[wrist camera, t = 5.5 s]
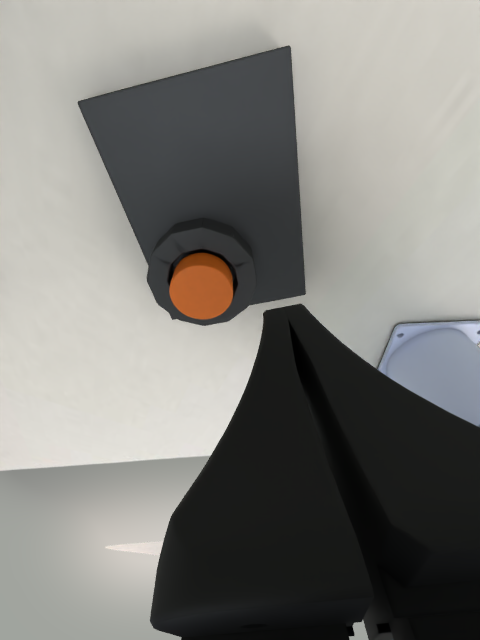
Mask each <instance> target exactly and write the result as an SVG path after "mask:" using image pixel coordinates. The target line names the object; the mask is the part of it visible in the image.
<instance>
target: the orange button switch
mask: <svg viewBox="0 0 480 640" xmlns="http://www.w3.org/2000/svg"><path fill="white" fill-rule="evenodd" d="M78 105H79V107H80V110H81V112H82V114H83V117H84V119H85V121H86V123H87V126H88V128H89V130H90V133H91V135H92V137H93V139H94V142H95V144H96V146H97V149H98V151H99V153H100V156H101V158H102V160H103V162H104V165H105V167H106V169H107V172H108V174H109V176H110V178H111V181H112V183H113V185H114V188H115V190H116V192H117V194H118V197H119V199H120V201H121V204H122V206H123V208H124V211H125V213H126V215H127V217H128V220H129V222H130V224H131V227H132V229H133V231H134V233H135V236H136V238H137V240H138V243H139V245H140V247H141V249H142V252H143V254H144V256H145V259H146V261H147V263H148V265H149V268H148V274H147V282H148V284H149V286H150V289H151V291H152V293H153V295H154V297H155V300H156V302H157V303H158V305H160V306H161V307H162V308H164V309H165V310H166V311H167V312H169V314H170V316H171V318H172V320H174V319H179V320H181V321H185V322H189V323H194V324H198V325H202V326H203V325H204V326H206V325H211V324H217V323H222V322H227V321H230V320H231V319H232V318H234V317H235V316H236V315H238V314H239V313H240V312H242V311H243V310H244V309H246V308H247V307H248V306H249V305H253V304H259V303H264V302H269V301H275V300H280V299H285V298H291V297H296V296H301V295H305V294H306V291H305V275H304V258H303V242H302V225H301V209H300V192H299V175H298V159H297V142H296V126H295V109H294V93H293V76H292V60H291V47H290V46H285V47H281V48H277V49H274V50H270V51H266V52H262V53H258V54H255V55H251V56H247V57H243V58H240V59H236V60H232V61H228V62H224V63H221V64H217V65H213V66H209V67H205V68H202V69H198V70H194V71H190V72H187V73H183V74H179V75H175V76H171V77H168V78H164V79H160V80H156V81H153V82H149V83H145V84H141V85H137V86H134V87H130V88H126V89H122V90H118V91H115V92H111V93H107V94H103V95H100V96H96V97H92V98H88V99H84V100H81V101H78ZM194 253H208V254H212V255H215V256H217V257H219V258H220V259H222V260H223V261H224V262H225V263H226V264H227V266H228V267H229V269H230V271H231V273H232V279H233V299H232V302H231V304H230V306H229V307H228V308H227V310H226V311H225V312H223V313H222V314H221V315H219V316H217V317H214V318H211V319H195V318H191V317H189V316H187V315H185V314H183V313H182V312H180V311H179V310H178V309H177V308H176V307H175V305H174V304H173V302H172V300H171V297H170V293H169V288H170V283H171V280H172V277H173V274H174V271H175V268H176V266H177V265H178V263H179V262H180V261H181V260H182V259H183V258H185V257H186V256H188V255H191V254H194Z"/></svg>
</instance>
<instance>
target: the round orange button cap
mask: <svg viewBox="0 0 480 640" xmlns="http://www.w3.org/2000/svg"><path fill="white" fill-rule="evenodd" d="M169 293H170V297H171V300H172V302H173V304H174V305H175V307H176V308H177V309H178V310H179V311H180V312H182V313H183V314H185V315H187V316H189V317H191V318H195V319H211V318H214V317H217V316H219V315H221V314H222V313H223V312H225V311H226V310H227V308H228V307H229V306H230V304H231V302H232V299H233V279H232V273H231V271H230V269H229V267H228V266H227V264H226V263H225V262H224V261H223V260H222V259H220V258H219V257H217V256H215V255H212V254H208V253H194V254H191V255H188V256H186V257H185V258H183V259H182V260H181V261H180V262H179V263H178V265H177V266H176V268H175V271H174V274H173V277H172V280H171V283H170V288H169Z"/></svg>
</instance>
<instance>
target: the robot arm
mask: <svg viewBox="0 0 480 640" xmlns="http://www.w3.org/2000/svg"><path fill="white" fill-rule="evenodd" d="M263 316H264V321H263V330H262V336H261V341H260V345H259V349H258V353H257V357H256V360H255V363H254V366H253V369H252V372H251V375H250V378H249V381H248V383H247V386H246V388H245V391H244V393H243V395H242V398H241V400H240V402H239V404H238V407H237V409H236V411H235V413H234V415H233V417H232V419H231V421H230V423H229V425H228V427H227V429H226V431H225V432H224V434H223V436H222V438H221V439H220V441H219V443H218V444H217V446H216V448H215V450H214V451H213V453H212V455H211V456H210V458H209V460H208V462H207V463H206V465H205V467H204V468H203V470H202V471H201V473H200V474H199V476H198V477H197V479H196V480H195V482H194V483H193V485H192V486H191V487H190V489H189V491H188V492H187V493H186V495H185V496H184V498H183V499H182V501H181V502H180V504H179V505H178V507H177V508H176V509H175V511H174V513H173V514H172V516H171V518H170V521H169V525H168V528H167V532H166V535H165V538H164V542H163V546H162V550H161V554H160V559H159V563H158V567H157V574H156V581H155V588H154V595H153V603H152V609H151V617H150V622H151V624H152V626H153V628H155V629H157V630H159V631H162V632H166V633H170V634H173V635H176V636H180V637H182V639H181V640H349V636H354V631H353V627H352V626H353V623H355V622H362V620H364V624H365V628H366V631H367V635H368V638H369V640H480V348H479V347H478V346H477V344H478V342H479V341H480V320H479V321H456V322H433V323H410V324H399V325H397V326H396V327H395V329H394V331H393V333H392V336H391V338H390V341H389V343H388V346H387V348H386V351H385V353H384V356H383V358H382V360H381V363H380V365H379V368H378V370H377V369H376V368H374V367H373V366H371V365H370V364H369V363H367V362H366V361H365V360H363V359H362V358H361V357H359V356H358V355H357V354H355V353H354V352H353V351H352V350H350V349H349V348H348V347H347V346H345V345H344V344H343V343H342V342H341V341H340V340H338V339H337V338H336V337H335V336H334V335H333V334H332V333H330V332H329V331H328V330H327V329H326V328H325V327H324V326H323V325H322V324H321V323H320V322H319V321H318V320H317V319H316V318H315V317H314V316H313V315H312V314H311V313H310V312H309V311H308V310H307V309H306V307H305V306H304V305H302V304H297V305H292V306H286V307H281V308H276V309H271V310H266V311H265V312H264V313H263ZM398 334H399V335H398Z"/></svg>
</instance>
